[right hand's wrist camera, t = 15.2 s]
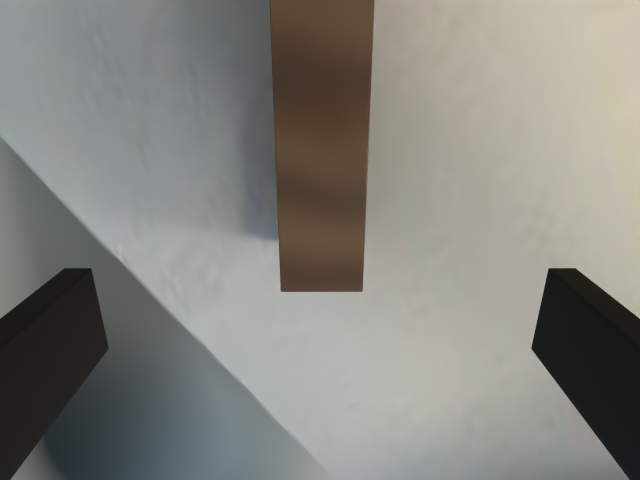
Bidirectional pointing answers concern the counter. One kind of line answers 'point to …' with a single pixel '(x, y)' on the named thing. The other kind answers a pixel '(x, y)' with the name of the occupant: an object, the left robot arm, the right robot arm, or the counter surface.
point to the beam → (321, 139)
